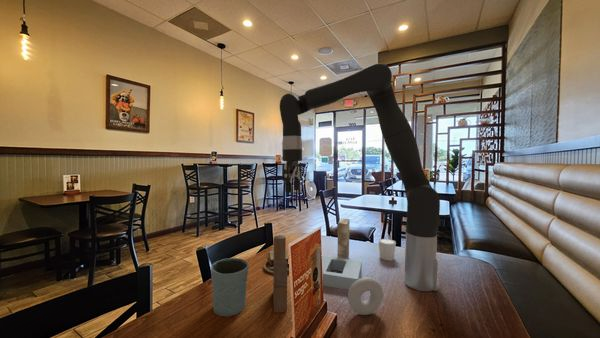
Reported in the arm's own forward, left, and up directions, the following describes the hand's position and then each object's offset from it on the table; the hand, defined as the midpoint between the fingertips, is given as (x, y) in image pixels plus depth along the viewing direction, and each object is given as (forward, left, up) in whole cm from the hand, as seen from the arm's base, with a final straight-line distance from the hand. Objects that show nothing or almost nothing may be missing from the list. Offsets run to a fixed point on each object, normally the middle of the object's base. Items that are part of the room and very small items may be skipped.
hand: (292, 191), depth 96 cm
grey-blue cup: (+7, +31, -29) cm, 43 cm away
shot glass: (-35, -20, -29) cm, 50 cm away
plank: (-18, -12, -29) cm, 36 cm away
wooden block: (-5, +24, -29) cm, 38 cm away
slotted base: (-18, +4, -29) cm, 34 cm away
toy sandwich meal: (+4, +3, -29) cm, 30 cm away
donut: (-29, +22, -29) cm, 46 cm away
